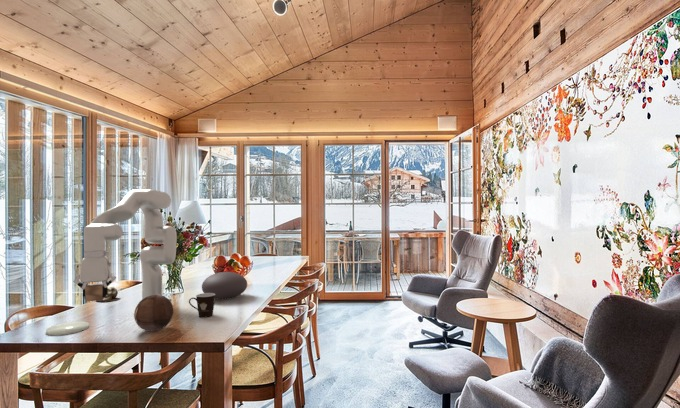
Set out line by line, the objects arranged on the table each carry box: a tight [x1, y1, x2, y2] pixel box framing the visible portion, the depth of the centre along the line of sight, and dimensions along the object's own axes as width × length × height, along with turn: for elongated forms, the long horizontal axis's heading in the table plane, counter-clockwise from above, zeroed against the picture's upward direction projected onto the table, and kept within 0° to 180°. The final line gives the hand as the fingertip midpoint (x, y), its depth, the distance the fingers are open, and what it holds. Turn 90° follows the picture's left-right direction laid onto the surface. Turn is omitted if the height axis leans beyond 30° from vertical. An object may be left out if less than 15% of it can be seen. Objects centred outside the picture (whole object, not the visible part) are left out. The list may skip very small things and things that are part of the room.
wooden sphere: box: [133, 294, 174, 332], centre depth 164 cm, size 15×15×15 cm
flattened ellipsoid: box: [201, 271, 248, 300], centre depth 220 cm, size 25×25×15 cm
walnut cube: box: [84, 282, 105, 302], centre depth 162 cm, size 6×6×6 cm
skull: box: [98, 285, 121, 302], centre depth 219 cm, size 12×10×10 cm
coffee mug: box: [188, 292, 216, 319], centre depth 186 cm, size 12×9×10 cm
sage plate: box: [45, 321, 90, 336], centre depth 166 cm, size 15×15×1 cm
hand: (95, 297), depth 162 cm, fingers closed on walnut cube, 6 cm apart
